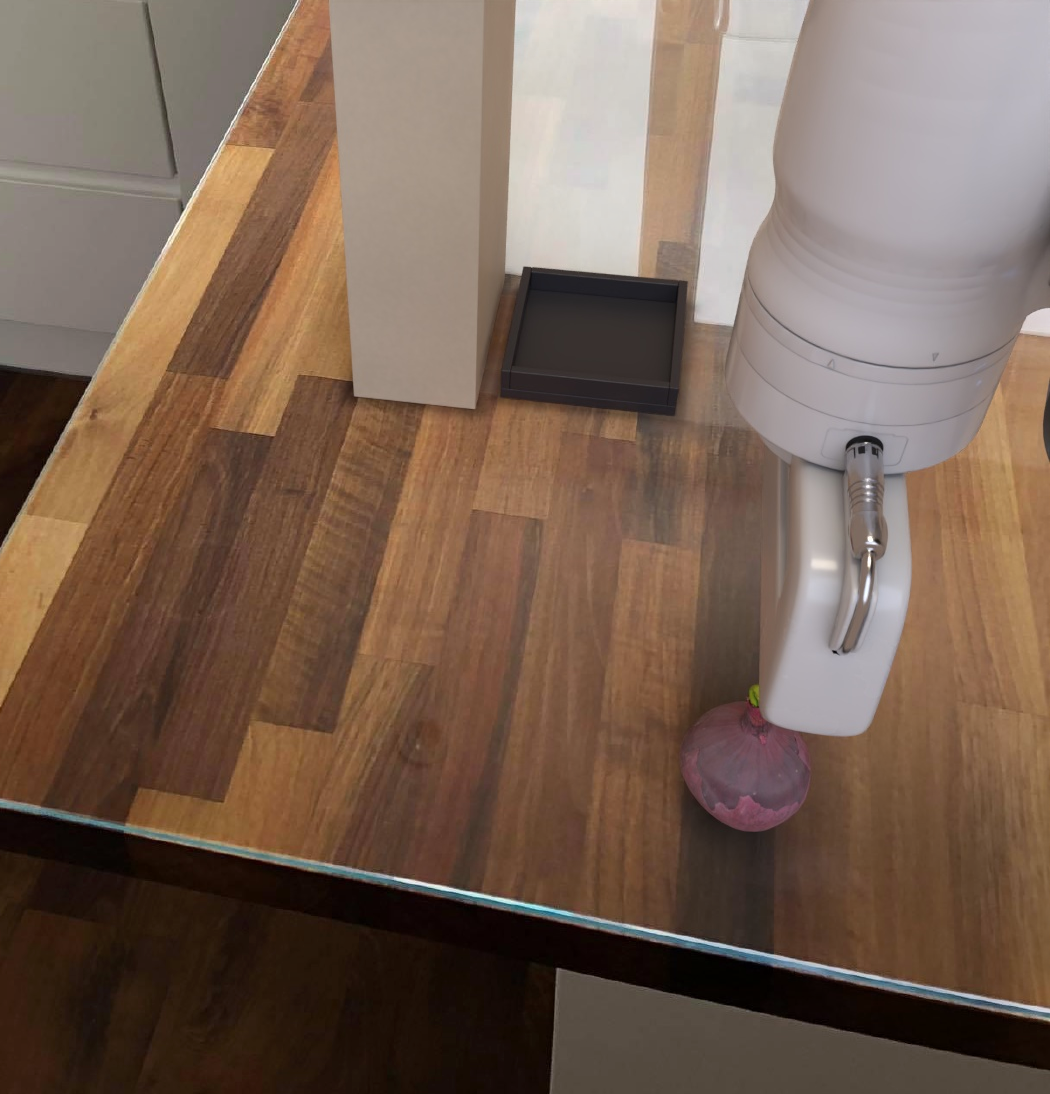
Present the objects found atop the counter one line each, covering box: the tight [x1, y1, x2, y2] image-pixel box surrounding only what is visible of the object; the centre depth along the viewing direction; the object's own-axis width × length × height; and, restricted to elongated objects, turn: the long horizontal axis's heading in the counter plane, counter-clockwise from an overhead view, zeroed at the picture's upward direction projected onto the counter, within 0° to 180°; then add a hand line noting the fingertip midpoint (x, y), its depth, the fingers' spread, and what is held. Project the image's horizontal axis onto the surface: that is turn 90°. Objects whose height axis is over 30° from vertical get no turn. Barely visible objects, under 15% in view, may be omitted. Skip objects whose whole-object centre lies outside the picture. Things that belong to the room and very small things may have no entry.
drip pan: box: [499, 265, 689, 417], centre depth 91 cm, size 11×11×2 cm
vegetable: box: [678, 682, 812, 833], centre depth 64 cm, size 6×6×10 cm
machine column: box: [328, 0, 517, 410], centre depth 83 cm, size 9×15×30 cm, turn 169°
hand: (782, 609), depth 57 cm, fingers open, 8 cm apart
